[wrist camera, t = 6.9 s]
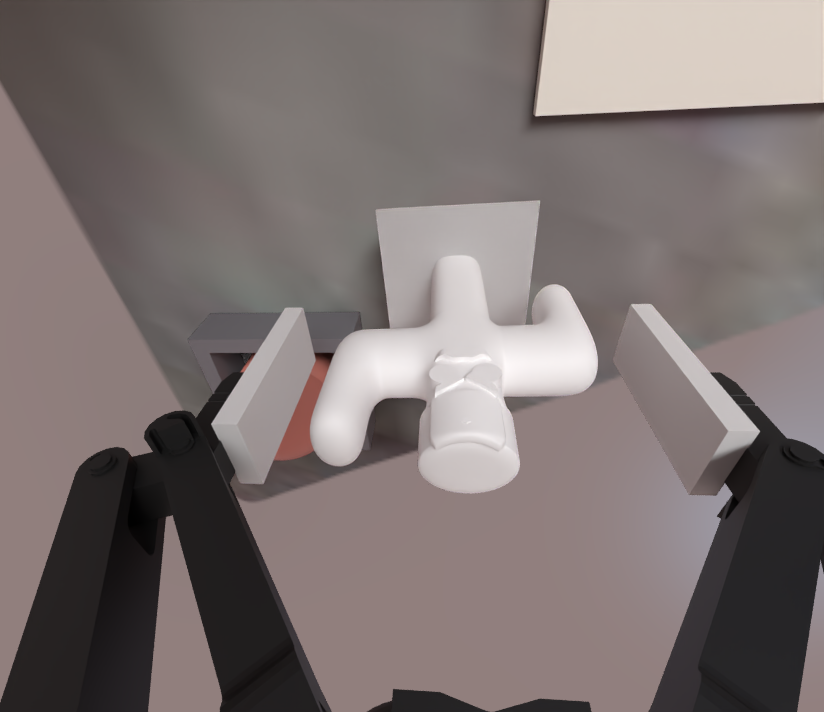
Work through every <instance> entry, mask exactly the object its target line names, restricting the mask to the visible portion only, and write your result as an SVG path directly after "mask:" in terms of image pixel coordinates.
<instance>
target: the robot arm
mask: <svg viewBox="0 0 824 712" xmlns="http://www.w3.org/2000/svg"><path fill="white" fill-rule="evenodd" d="M315 361H316V359H315V355H314V351H313V346H312V342H311V338H310V334H309V330H308V326H307V321H306V317H305V313H304V309H303V308H285V309H284V311H283V312H282V314H281V315H280V317H279V319H278V320H277V322H276V323H275V325H274V326H273V328H272V330H271V331H270V333H269V334H268V336H267V337H266V339H265V341H264V342H263V344H262V345H261V347H260V348H259V350H258V352H257V353H256V355H255V356H254V358H253V359H252V361H251V362H250V364H249V366H248V367H247V369H246V370H245V372H233V373H232V374H230V375H229V376H228V377H227V378H225V379H224V380H223V381H221V383H220V384H219V386H218V387H217V389H216V390H215V391H214V394H212V396H211V397H210V399H209V402H207V403H206V404H205V406H204V407H203V409H202V410H201V412H200V413H199V415H198V416H197V417H196V418H195V416H194V415H193V414H192V413H191V412H188V411H174V412H171V413H168V414H165V415H163V416H161V417H159V418H157V419H156V420H155V421H154V422H152V423H151V424H150V425H149V426H148V428H147V429H146V431H145V435H144V439H145V440H146V442H147V443H148V445H149V446H150V448H151V449H152V451H153V452H151V453H147V454H143V455H138V456H134V457H132V456H131V455H130V454H129V452H128V451H127V450H125V449H124V448H119V447H114V448H109V449H105V450H103V451H100V452H98V453H96V454H94V455H93V456H91V457H90V458H88V459H87V460H86V461H85V462H84V463H83V464H82V465H81V466H80V467H79V469H78V470H77V472H76V474H75V477H74V480H73V483H72V486H71V490H70V493H69V495H68V498H67V502H66V505H65V508H64V511H63V514H62V517H61V520H60V523H59V526H58V529H57V532H56V535H55V538H54V541H53V544H52V547H51V550H50V553H49V556H48V559H47V562H46V566H45V568H44V571H43V575H42V577H41V580H40V584H39V587H38V590H37V593H36V596H35V599H34V602H33V605H32V608H31V611H30V614H29V617H28V620H27V623H26V626H25V629H24V633H23V635H22V639H21V641H20V644H19V647H18V651H17V654H16V657H15V660H14V663H13V666H12V669H11V672H10V675H9V678H8V682H7V684H6V687H5V690H4V693H3V696H2V699H1V702H0V712H148V704H149V693H150V683H151V673H152V661H153V651H154V639H155V629H156V618H157V607H158V596H159V585H160V575H161V564H162V553H163V543H164V532H165V521H166V517H167V516H171V515H173V518H174V521H175V525H176V529H177V532H178V536H179V540H180V543H181V547H182V551H183V554H184V558H185V561H186V565H187V569H188V572H189V576H190V580H191V583H192V587H193V590H194V594H195V598H196V601H197V605H198V609H199V612H200V616H201V620H202V623H203V627H204V631H205V634H206V638H207V641H208V645H209V648H210V652H211V656H212V660H213V663H214V667H215V670H216V674H217V678H218V682H219V685H220V689H221V694H222V703H221V707H220V712H331V709H330V707H329V705H328V703H327V701H326V699H325V697H324V695H323V693H322V691H321V689H320V686H319V684H318V682H317V680H316V678H315V675H314V673H313V671H312V668H311V666H310V664H309V662H308V660H307V657H306V655H305V653H304V650H303V648H302V646H301V644H300V641H299V639H298V637H297V634H296V632H295V630H294V628H293V625H292V623H291V621H290V618H289V616H288V614H287V612H286V609H285V607H284V605H283V603H282V600H281V598H280V596H279V593H278V591H277V589H276V587H275V584H274V582H273V580H272V578H271V575H270V573H269V571H268V568H267V566H266V564H265V562H264V559H263V557H262V555H261V553H260V551H259V548H258V546H257V544H256V541H255V539H254V537H253V534H252V532H251V530H250V528H249V525H248V523H247V521H246V518H245V516H244V514H243V512H242V509H241V507H240V505H239V503H238V500H237V498H236V496H235V493H234V491H233V489H232V487H231V485H230V481H231V479H232V477H233V475H234V474H235V473H236V475H237V477H238V479H239V481H240V483H241V484H264V481H265V479H266V477H267V474H268V472H269V470H270V467H271V465H272V462H273V460H274V458H275V455H276V453H277V451H278V448H279V446H280V444H281V441H282V439H283V437H284V434H285V432H286V429H287V427H288V425H289V422H290V420H291V418H292V415H293V413H294V411H295V408H296V406H297V404H298V401H299V399H300V397H301V394H302V392H303V389H304V387H305V385H306V382H307V380H308V378H309V375H310V373H311V371H312V368H313V366H314V364H315ZM613 362H614V364H615V365H616V367H617V369H618V371H619V372H620V374H621V376H622V378H623V379H624V381H625V383H626V385H627V386H628V388H629V390H630V392H631V394H632V395H633V397H634V399H635V401H636V402H637V404H638V406H639V408H640V409H641V411H642V413H643V415H644V416H645V418H646V420H647V422H648V424H649V425H650V427H651V429H652V430H653V432H654V434H655V436H656V438H657V439H658V441H659V443H660V445H661V446H662V448H663V450H664V452H665V453H666V455H667V457H668V459H669V461H670V462H671V464H672V466H673V468H674V469H675V471H676V473H677V475H678V476H679V478H680V480H681V482H682V483H683V485H684V487H685V489H686V490H687V492H688V494H689V495H713V496H716V495H717V493H718V492H719V491H720V489H721V488H722V486H723V485H724V483H726V485H727V486H728V488H729V489H730V490H731V492H732V494H733V495H732V496H731V497H730V499H729V500H728V502H727V503H726V505H725V506H724V507H723V508H722V510H721V511H720V513H719V514H718V515H717V517H719V518H721V521H720V523H719V527H718V529H717V531H716V534H715V537H714V540H713V542H712V545H711V547H710V550H709V553H708V556H707V558H706V561H705V564H704V566H703V569H702V572H701V574H700V577H699V580H698V582H697V585H696V588H695V591H694V593H693V596H692V599H691V601H690V604H689V607H688V609H687V612H686V615H685V617H684V620H683V623H682V626H681V628H680V631H679V633H678V636H677V639H676V642H675V644H674V647H673V650H672V652H671V655H670V658H669V660H668V663H667V666H666V668H665V671H664V674H663V676H662V679H661V682H660V684H659V687H658V690H657V693H656V695H655V698H654V701H653V703H652V705H651V708H650V710H649V712H797V708H798V702H799V695H800V688H801V682H802V675H803V669H804V662H805V656H806V650H807V643H808V637H809V630H810V624H811V618H812V611H813V605H814V598H815V591H816V585H817V578H818V572H819V565H820V559H821V563H822V567H823V572H824V454H822V453H821V452H820V451H818V450H817V449H816V448H814V447H812V446H810V445H808V444H806V443H803V442H800V441H797V440H793V439H787V438H786V437H785V436H784V435H783V434H782V433H781V432H780V430H779V429H778V428H777V427H776V426H775V425H774V424H773V423H772V422H771V421H770V419H769V418H768V417H767V416H766V415H765V414H764V413H763V412H762V411H761V410H760V408H759V407H758V406H755V403H754V402H753V401H752V400H751V399H750V397H747V396H746V395H747V394H746V393H745V392H744V391H743V390H742V389H741V388H740V387H739V385H738V384H737V383H736V382H734V381H732V380H731V379H729V378H728V377H726V376H725V375H723V374H722V373H710V372H709V371H708V370H707V369H706V368H705V366H704V365H703V364H702V363H701V362H700V361H699V360H698V358H697V357H696V356H695V355H694V354H693V352H692V351H691V350H690V349H689V348H688V347H687V345H686V344H685V343H684V342H683V341H682V340H681V338H680V337H679V336H678V335H677V334H676V333H675V331H674V330H673V329H672V328H671V327H670V326H669V324H668V323H667V322H666V321H665V320H664V319H663V317H662V316H661V315H660V314H659V313H658V312H657V310H656V309H655V308H654V307H653V306H652V305H651V304H630V308H629V311H628V314H627V317H626V320H625V323H624V326H623V330H622V333H621V336H620V339H619V342H618V345H617V348H616V352H615V355H614V358H613ZM368 712H488V711H485V710H482V709H480V708H477V707H475V706H473V705H470V704H468V703H465V702H463V701H460V700H458V699H455V698H453V697H450V696H448V695H445V694H443V693H441V692H429V691H414V690H399V689H393V698H392V701H390V702H387V703H383V704H381V705H379V706H377V707H374V708H372V709H371V710H369V711H368ZM495 712H591V708H590V703H589V702H582V701H567V700H551V699H538V700H534V701H530V702H527V703H523V704H520V705H516V706H513V707H509V708H506V709H502V710H499V711H495Z"/></svg>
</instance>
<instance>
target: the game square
mask: <svg viewBox="0 0 824 712" xmlns="http://www.w3.org/2000/svg"><path fill="white" fill-rule="evenodd" d="M823 102H824V0H546V9H545V17H544V26H543V34H542V43H541V51H540V60H539V68H538V77H537V85H536V94H535V102H534V111H533V115H535V116H549V115H570V114H591V113H612V112H633V111H654V110H675V109H696V108H717V107H738V106H759V105H781V104H802V103H823Z"/></svg>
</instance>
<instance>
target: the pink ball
mask: <svg viewBox="0 0 824 712" xmlns="http://www.w3.org/2000/svg"><path fill="white" fill-rule="evenodd" d="M255 355H256V353H252V354H251V356H250V358H249V359H248V361H247V362H246V364H245V366H244V367H243V369H242V370H241V372H245V370H246V369H247V367H248V366H249V364H250V362H251V361H252V359H253V358H254V356H255ZM314 355H315V359H316V361H315V364H314V366H313V368H312V371H311V373H310V375H309V378H308V380H307V382H306V385H305V387H304V389H303V392H302V394H301V397H300V399H299V401H298V404H297V406H296V408H295V411H294V413H293V415H292V418H291V420H290V422H289V425H288V427H287V429H286V432H285V434H284V437H283V439H282V441H281V444H280V446H279V448H278V451H277V453H276V455H275V458H274V460H279V461H284V460H292V459H297V458H300V457H303V456H305V455H307V454H309V453H311V452H313V451H314V449H313V446H312V443H311V439H310V423H311V418H312V414H313V411H314V408H315V405H316V402H317V400H318V397H319V394H320V391H321V388H322V386H323V383H324V380H325V377H326V374H327V371H328V369H329V366H330V363H331V361H332V358H333V356H334V354H333V353H314Z"/></svg>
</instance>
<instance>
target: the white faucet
mask: <svg viewBox="0 0 824 712" xmlns="http://www.w3.org/2000/svg"><path fill="white" fill-rule="evenodd" d="M539 208H540V200H539V201H521V202H502V203H483V204H465V205H446V206H427V207H409V208H390V209H375V210H376V218H377V226H378V235H379V243H380V251H381V259H382V267H383V275H384V283H385V291H386V299H387V307H388V315H389V323H390V329H365V330H359V331H355V332H353V333H351V334H349V335H348V336H346V337H345V338H344V339H343V340H342V342H341V343H340V344H339V346H338V347H337V349H336V351H335V354H334V356H333V358H332V361H331V363H330V366H329V369H328V371H327V374H326V377H325V380H324V383H323V386H322V388H321V391H320V394H319V397H318V400H317V402H316V405H315V408H314V411H313V414H312V418H311V423H310V439H311V443H312V446H313V449H314V451H315V452H316V454H317V455H318V456H319V458H320V459H321V460H323V461H324V462H325V463H327V464H329V465H333V466H345V465H348V464H350V463H352V462H353V461H354V460H356V458H357V457H358V455H359V454H360V452H361V450H362V447H363V444H364V440H365V435H366V431H367V426H368V421H369V418H370V415H371V412H372V410H373V408H374V407H375V405H376V404H377V403H379V402H380V401H381V400H383V399H386V398H419V399H422V400H425V401H426V402H427V403H426V409H425V410H424V412H423V413H422V415H421V418H420V427H419V446H418V465H417V466H418V470H419V472H420V474H421V475H422V477H423V478H424V479H425V480H426V481H428V482H429V483H430V484H432V485H434V486H435V487H438V488H440V489H443V490H447V491H450V492H456V493H467V494H470V493H482V492H487V491H491V490H494V489H498V488H500V487H502V486H504V485H506V484H507V483H509V482H510V481H511V480H512V479H514V477H515V476H516V475H517V473H518V471H519V468H520V460H519V453H518V447H517V441H516V435H515V428H514V422H513V418H512V414H511V413H510V411H509V409H508V408H507V407H506V404H505V401H504V397H534V396H570V395H575V394H578V393H581V392H583V391H585V390H586V389H587V388H588V387H590V386H591V384H592V383H593V381H594V379H595V377H596V373H597V368H598V357H597V351H596V347H595V343H594V340H593V338H592V335H591V333H590V331H589V329H588V327H587V325H586V323H585V321H584V319H583V317H582V315H581V313H580V311H579V310H578V308H577V306H576V304H575V302H574V300H573V298H572V296H571V295H570V293H569V292H568V291H567V289H566V288H564V287H563V286H560V285H556V284H553V285H548V286H546V287H544V288H543V289H541V290H540V291H539V293H538V294H537V295H536V297H535V300H534V302H533V307H532V320H533V324H534V325H525V322H526V314H527V306H528V298H529V290H530V281H531V273H532V265H533V257H534V249H535V240H536V232H537V224H538V216H539Z"/></svg>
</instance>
